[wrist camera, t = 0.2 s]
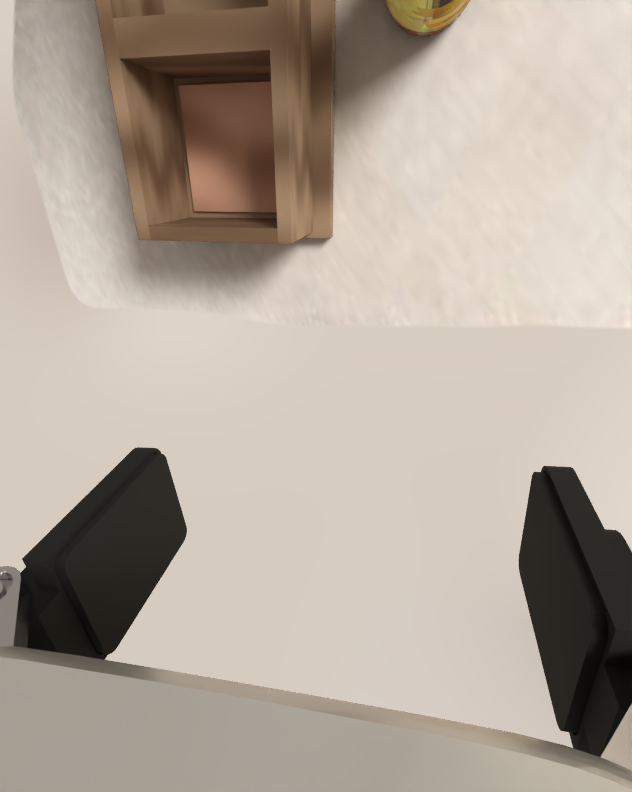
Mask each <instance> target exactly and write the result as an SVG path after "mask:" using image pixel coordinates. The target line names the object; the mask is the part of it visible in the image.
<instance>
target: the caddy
mask: <svg viewBox="0 0 632 792" xmlns="http://www.w3.org/2000/svg"><path fill="white" fill-rule="evenodd" d="M95 3H96V9H97V14H98V20H99V25H100V31H101V36H102V42H103V47H104V53H105V58H106V64H107V69H108V75H109V80H110V86H111V91H112V96H113V102H114V107H115V113H116V118H117V124H118V129H119V135H120V140H121V146H122V151H123V157H124V162H125V168H126V173H127V179H128V184H129V190H130V195H131V201H132V206H133V212H134V217H135V223H136V228H137V234H138V239H139V240H168V241H204V242H240V243H277V244H292V243H294V242H296V241H298V240H299V239H301V238H331V237H332V233H333V154H334V75H335V0H95Z"/></svg>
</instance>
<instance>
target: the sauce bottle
mask: <svg viewBox="0 0 632 792" xmlns="http://www.w3.org/2000/svg"><path fill="white" fill-rule="evenodd" d="M385 2H386V4H387V7H388V10H389V11H390V13H391V15H392V16H393V18H394V19H395V21H396V22H397V23H398V24H399V26H400V27H401V28H402V29H404V30H405V31H406V32H408V33H410V34H413V35H420V36H425V35H430V34H436V33H438V32H440V31H442V30H443V29H445V28H446V27H447V26H449V25H450V24H451V23H452V22H453V21H454V20H455V19H456V18H457V17H458V16H460V14H461V12H462V11H463V10H464V9H465V7H466V6H467V5H468V3H469V2H470V0H385Z"/></svg>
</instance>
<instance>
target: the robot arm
mask: <svg viewBox="0 0 632 792" xmlns="http://www.w3.org/2000/svg"><path fill="white" fill-rule="evenodd" d="M186 533H187V528H186V524H185V520H184V517H183V514H182V510H181V507H180V503H179V500H178V497H177V493H176V490H175V486H174V483H173V480H172V476H171V473H170V470H169V466H168V463H167V459H166V457H165V456H164V455H163V454H161V452H160V451H159V450H158V449H156V448H135V449H133V450H132V451H131V452H130V453H129V454H128V455H127V456H126V457H125V458H124V459H123V460H122V461H121V462H120V463H119V464H118V465H117V466H116V467H115V468H114V469H113V470H112V471H111V472H110V473H109V474H108V475H107V476H106V477H105V478H104V479H103V480H102V481H101V482H100V483H99V484H98V485H97V486H96V487H95V488H94V489H93V490H92V491H91V492H90V493H89V494H88V495H87V496H85V498H83V499H82V500H81V501H80V502H79V503H78V504H77V506H75V507H74V508H73V509H72V510H71V511H70V512H69V513H68V514H67V515H66V516H65V517H64V518H63V519H62V520H61V521H60V522H59V523H58V524H57V525H56V526H55V527H54V528H53V529H52V530H51V531H50V532H49V533H48V534H47V535H46V536H45V537H44V538H43V539H42V540H41V541H40V542H39V543H38V544H37V545H36V546H35V547H34V548H33V549H32V550H31V551H30V552H29V553H28V554H27V555H26V556H25V557H24V558H23V559H22V560H23V562H24V563H25V565H26V568H25V569H24V570H23V571H22V572H21V573H20V572H19V571H18V570H17V569H16V568H14V567H9V566H6V567H0V792H632V552H631V550H630V548H629V546H628V544H627V543H626V541H625V539H624V538H623V536H622V535H621V533H619V532H618V531H616V530H605V529H604V527H603V525H602V523H601V521H600V520H599V517H598V515H597V514H596V512H595V510H594V508H593V506H592V504H591V502H590V500H589V498H588V496H587V494H586V492H585V490H584V488H583V486H582V484H581V482H580V480H579V479H578V477H577V474H576V473H575V471H574V469H573V468H571V467H555V466H544V467H543V468H542V471H541V472H534V473H533V475H532V480H531V487H530V492H529V498H528V505H527V511H526V517H525V523H524V529H523V535H522V541H521V548H520V554H519V571H520V576H521V579H522V584H523V588H524V592H525V596H526V600H527V604H528V608H529V612H530V616H531V620H532V624H533V628H534V632H535V636H536V640H537V644H538V649H539V653H540V656H541V660H542V665H543V669H544V673H545V676H546V681H547V685H548V689H549V693H550V697H551V701H552V705H553V709H554V713H555V717H556V721H557V724H558V726H559V729H560V730H561V731H566V732H569V733H570V737H571V740H572V745H573V748H571V747H567V746H564V745H560V744H556V743H552V742H548V741H544V740H540V739H536V738H532V737H528V736H524V735H519V734H515V733H511V732H505V731H500V730H495V729H490V728H485V727H480V726H475V725H470V724H464V723H460V722H455V721H450V720H445V719H439V718H434V717H429V716H424V715H418V714H412V713H407V712H401V711H396V710H390V709H385V708H379V707H374V706H368V705H362V704H357V703H351V702H346V701H339V700H335V699H329V698H323V697H318V696H312V695H307V694H301V693H295V692H289V691H284V690H278V689H272V688H266V687H260V686H255V685H249V684H243V683H238V682H232V681H226V680H220V679H215V678H209V677H203V676H197V675H191V674H185V673H180V672H174V671H168V670H162V669H156V668H150V667H144V666H138V665H132V664H126V663H120V662H114V661H108V660H105V658H106V656H107V655H108V654H110V653H112V652H113V651H115V649H116V648H117V647H118V645H119V643H120V642H121V640H122V639H123V637H124V635H125V634H126V632H127V630H128V629H129V627H130V626H131V624H132V623H133V621H134V619H135V618H136V616H137V615H138V613H139V611H140V610H141V609H142V607H143V605H144V604H145V602H146V600H147V599H148V597H149V596H150V594H151V592H152V591H153V589H154V588H155V586H156V584H157V583H158V581H159V580H160V578H161V577H162V575H163V574H164V572H165V570H166V569H167V567H168V566H169V564H170V562H171V560H172V559H173V558H174V556H175V554H176V553H177V551H178V550H179V548H180V547H181V545H182V543H183V542H184V540H185V537H186Z"/></svg>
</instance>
